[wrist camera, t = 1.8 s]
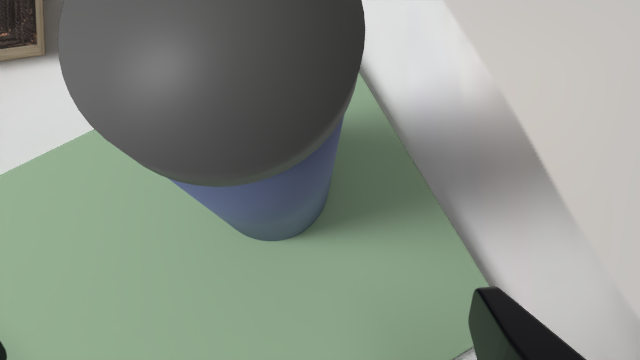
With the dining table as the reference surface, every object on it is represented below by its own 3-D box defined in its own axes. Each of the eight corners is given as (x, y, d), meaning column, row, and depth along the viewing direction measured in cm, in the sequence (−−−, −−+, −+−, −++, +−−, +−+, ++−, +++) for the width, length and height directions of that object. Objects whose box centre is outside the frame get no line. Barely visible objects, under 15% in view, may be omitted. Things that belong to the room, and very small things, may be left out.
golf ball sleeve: (352, 207, 21) (422, 83, 8) (245, 266, 20) (134, 233, 7) (296, 108, 22) (276, -145, 9) (192, 161, 21) (11, -30, 8)
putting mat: (505, 321, 20) (511, 323, 20) (-321, 825, 16) (-346, 846, 16) (324, 23, 23) (325, 16, 23) (-418, 386, 19) (-441, 389, 18)
